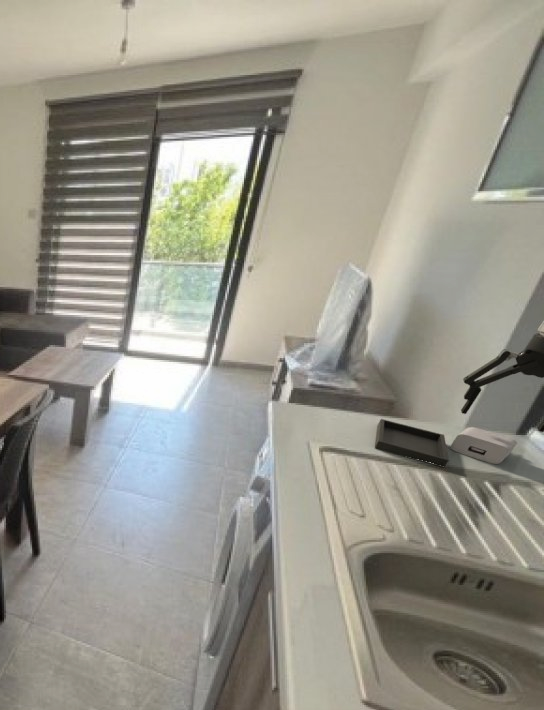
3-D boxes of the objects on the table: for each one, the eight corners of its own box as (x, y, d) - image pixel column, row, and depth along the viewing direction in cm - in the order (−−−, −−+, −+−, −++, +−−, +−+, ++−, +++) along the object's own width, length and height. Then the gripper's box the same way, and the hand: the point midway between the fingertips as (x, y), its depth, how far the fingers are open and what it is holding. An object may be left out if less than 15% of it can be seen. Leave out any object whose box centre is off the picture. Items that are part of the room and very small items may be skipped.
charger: (513, 451, 123) (498, 465, 115) (465, 436, 129) (448, 449, 122) (524, 435, 120) (510, 448, 113) (475, 421, 127) (459, 432, 119)
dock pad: (439, 441, 125) (444, 434, 125) (444, 467, 113) (448, 460, 112) (377, 425, 133) (380, 418, 132) (374, 448, 120) (378, 441, 119)
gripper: (640, 346, 103) (571, 433, 114) (482, 321, 117) (433, 401, 128) (652, 353, 98) (578, 443, 109) (485, 327, 112) (434, 409, 123)
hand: (500, 420), depth 118 cm, fingers open, 13 cm apart
